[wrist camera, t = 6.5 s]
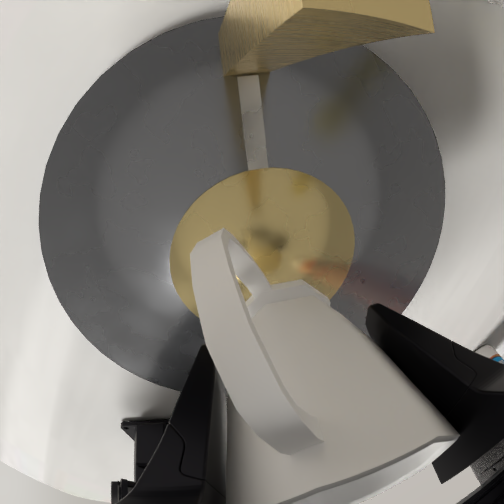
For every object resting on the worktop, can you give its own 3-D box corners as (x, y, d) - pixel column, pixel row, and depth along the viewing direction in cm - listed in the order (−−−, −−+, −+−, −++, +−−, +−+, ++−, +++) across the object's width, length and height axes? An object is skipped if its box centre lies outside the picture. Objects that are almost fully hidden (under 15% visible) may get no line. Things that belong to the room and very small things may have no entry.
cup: (247, 388, 14) (282, 528, 7) (117, 246, 9) (44, 481, 2) (368, 328, 14) (446, 456, 7) (297, 142, 9) (531, 280, 2)
